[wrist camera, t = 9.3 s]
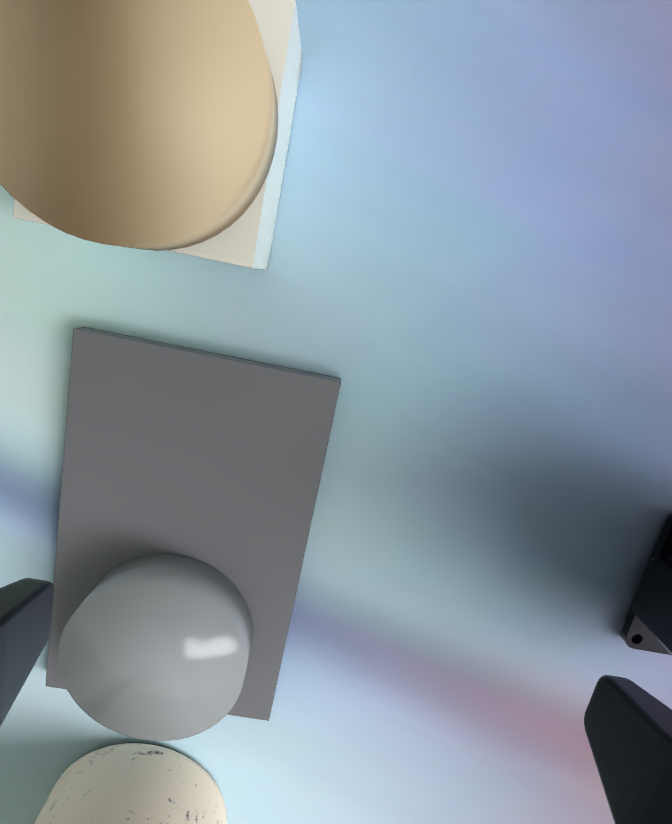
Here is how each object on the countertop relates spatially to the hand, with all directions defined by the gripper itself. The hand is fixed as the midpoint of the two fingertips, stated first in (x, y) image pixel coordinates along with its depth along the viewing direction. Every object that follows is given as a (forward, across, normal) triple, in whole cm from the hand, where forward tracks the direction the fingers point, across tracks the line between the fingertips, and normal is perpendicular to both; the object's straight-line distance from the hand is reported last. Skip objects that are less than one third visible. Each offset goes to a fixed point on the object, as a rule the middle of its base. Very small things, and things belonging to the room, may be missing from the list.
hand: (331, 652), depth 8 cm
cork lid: (+9, +7, -9) cm, 14 cm away
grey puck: (+12, +5, +10) cm, 17 cm away
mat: (+13, +5, +6) cm, 15 cm away
